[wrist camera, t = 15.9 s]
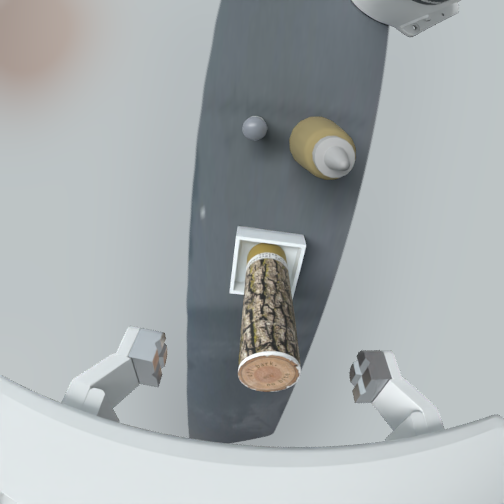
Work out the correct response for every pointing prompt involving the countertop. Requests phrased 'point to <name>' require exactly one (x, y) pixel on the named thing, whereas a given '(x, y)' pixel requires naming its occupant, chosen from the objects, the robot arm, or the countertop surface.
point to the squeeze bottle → (322, 148)
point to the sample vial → (254, 128)
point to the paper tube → (268, 323)
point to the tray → (253, 236)
